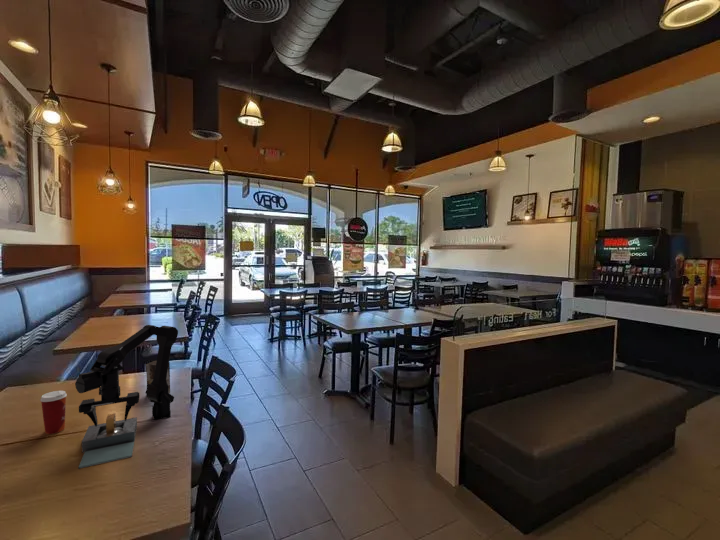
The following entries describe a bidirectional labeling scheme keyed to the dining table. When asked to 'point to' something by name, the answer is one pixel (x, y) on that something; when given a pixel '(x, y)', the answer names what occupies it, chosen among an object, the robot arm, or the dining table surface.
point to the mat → (106, 454)
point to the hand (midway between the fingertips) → (111, 423)
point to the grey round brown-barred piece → (111, 425)
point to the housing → (109, 435)
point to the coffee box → (151, 370)
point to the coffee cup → (54, 411)
